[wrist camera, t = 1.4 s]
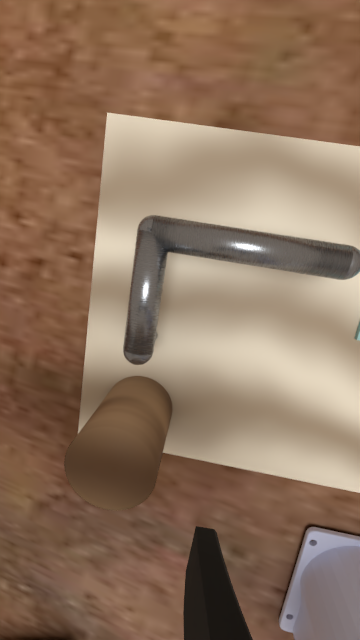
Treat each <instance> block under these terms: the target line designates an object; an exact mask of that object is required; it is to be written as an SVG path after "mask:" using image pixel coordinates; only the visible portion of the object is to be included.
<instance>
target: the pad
mask: <svg viewBox="0 0 360 640" xmlns="http://www.w3.org/2000/svg"><path fill="white" fill-rule="evenodd" d="M354 339H356V340H359V341H360V322H359V325H358V328H357V332H356V335H355V338H354Z"/></svg>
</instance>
